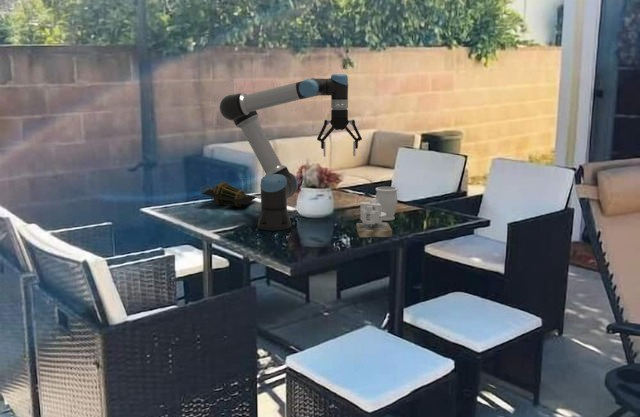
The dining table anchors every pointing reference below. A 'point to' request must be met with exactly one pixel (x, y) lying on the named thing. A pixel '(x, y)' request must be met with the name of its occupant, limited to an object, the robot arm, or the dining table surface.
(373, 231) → the stand
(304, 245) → the dining table surface
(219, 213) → the dining table surface
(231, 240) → the dining table surface
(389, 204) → the jar
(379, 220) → the mechanical part
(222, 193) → the lantern
